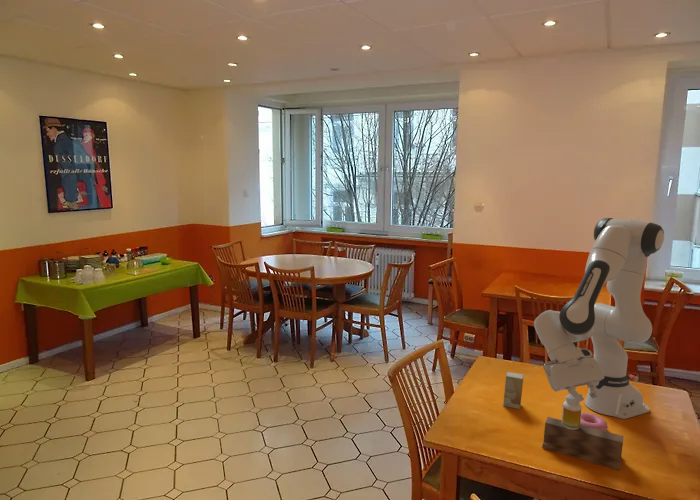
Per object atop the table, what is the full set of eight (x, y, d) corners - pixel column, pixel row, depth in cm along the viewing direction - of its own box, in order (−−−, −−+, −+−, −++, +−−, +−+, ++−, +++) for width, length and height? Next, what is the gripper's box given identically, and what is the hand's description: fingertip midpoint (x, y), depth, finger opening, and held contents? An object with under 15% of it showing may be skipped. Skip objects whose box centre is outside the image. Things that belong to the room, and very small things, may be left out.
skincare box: (503, 406, 184) (505, 375, 182) (504, 401, 188) (506, 371, 186) (520, 409, 182) (523, 378, 180) (521, 404, 186) (523, 374, 184)
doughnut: (588, 439, 162) (589, 428, 162) (565, 423, 173) (566, 412, 172) (614, 434, 165) (615, 423, 165) (590, 419, 176) (591, 408, 175)
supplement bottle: (581, 431, 152) (584, 402, 150) (563, 429, 153) (565, 400, 151) (577, 422, 157) (580, 394, 156) (559, 420, 158) (562, 392, 157)
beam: (542, 447, 157) (544, 424, 155) (546, 436, 164) (548, 414, 162) (619, 470, 145) (622, 445, 144) (621, 457, 152) (623, 433, 151)
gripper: (547, 358, 152) (570, 401, 144) (594, 349, 160) (617, 389, 153) (535, 366, 156) (556, 408, 149) (581, 357, 165) (604, 397, 157)
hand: (588, 399), depth 151 cm, fingers open, 5 cm apart
